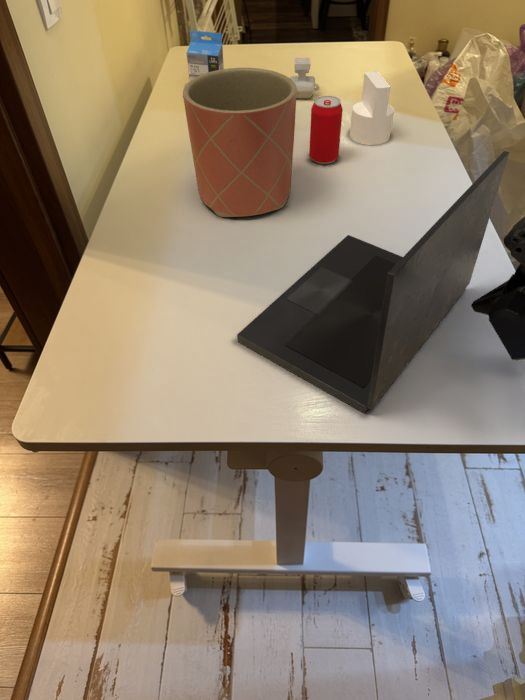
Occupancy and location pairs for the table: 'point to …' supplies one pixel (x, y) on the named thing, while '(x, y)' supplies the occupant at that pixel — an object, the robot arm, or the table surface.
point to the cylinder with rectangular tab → (372, 112)
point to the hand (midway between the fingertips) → (473, 306)
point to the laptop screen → (431, 278)
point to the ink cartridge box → (204, 53)
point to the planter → (242, 139)
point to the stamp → (304, 78)
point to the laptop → (329, 321)
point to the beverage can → (325, 129)
